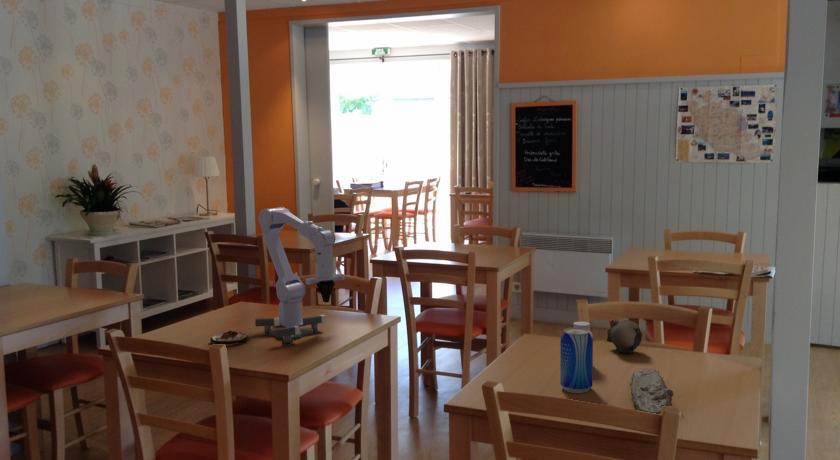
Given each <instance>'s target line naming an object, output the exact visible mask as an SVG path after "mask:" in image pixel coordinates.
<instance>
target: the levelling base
mask: <svg viewBox="0 0 840 460" xmlns="http://www.w3.org/2000/svg"><path fill="white" fill-rule="evenodd" d="M275 329H277V327H273V328H271V330H268V333H265V332H262V335H263V336H270V337H276V336H275ZM320 332H321V331H320V330H319V329H318V331H313V328H311V327H310V326H305V327H300V334H296V335H295V334H294V335H291V343H284V336H282V337H276V338H277V339H278V340H281V341H283V342H282V343H281V344H282V345H283V346H292V345H294V340H299V339H301V338H303V337H304V336H306V335H307V336H308V335H313V334H318V333H320Z"/></svg>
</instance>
